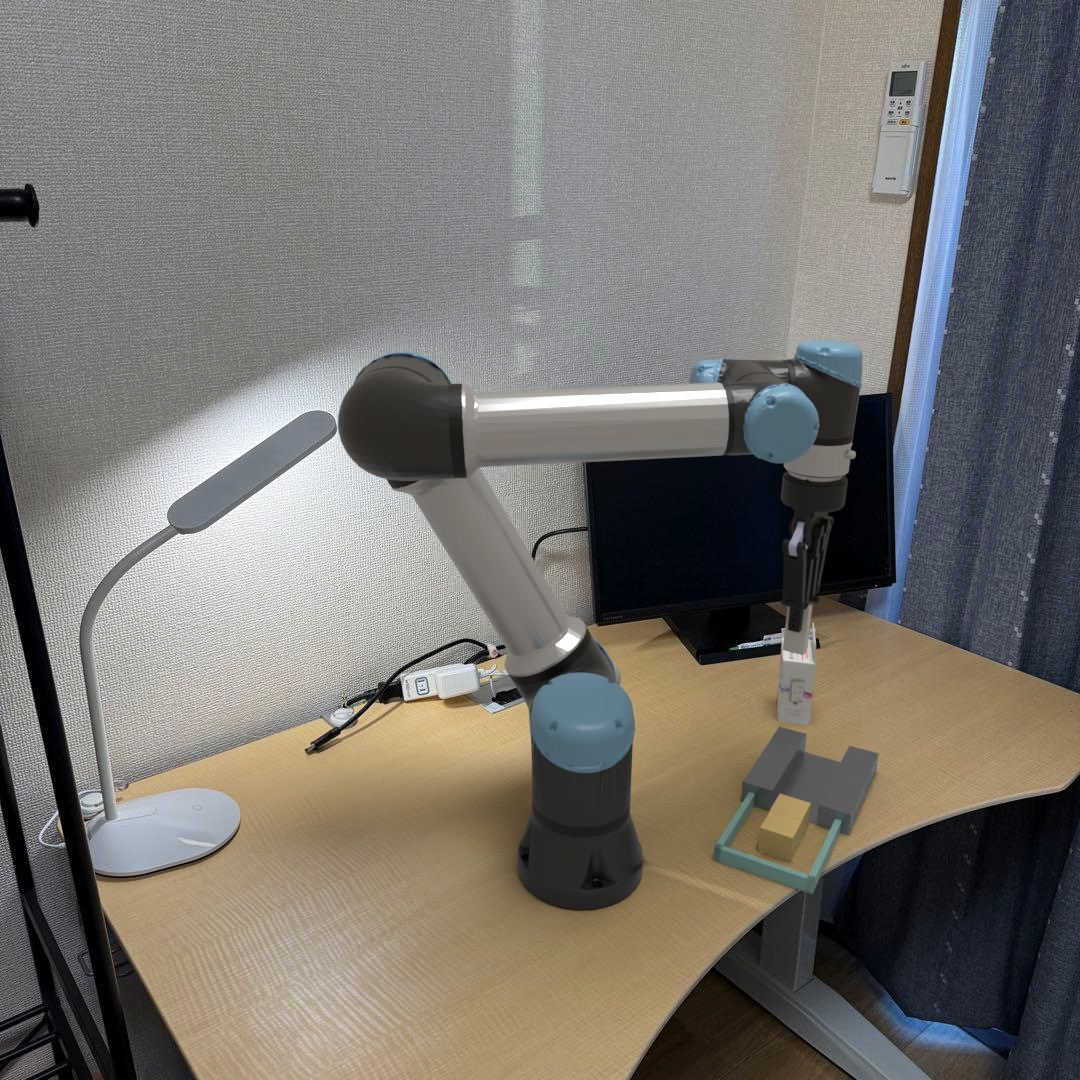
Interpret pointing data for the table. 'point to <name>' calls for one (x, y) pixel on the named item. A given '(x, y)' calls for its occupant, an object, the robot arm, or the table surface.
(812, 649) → the ink cartridge box
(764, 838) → the tan wooden cube
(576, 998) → the table surface
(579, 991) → the table surface
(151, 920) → the table surface
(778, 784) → the slot board
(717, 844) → the teal u-shaped bar frame
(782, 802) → the beige wooden block
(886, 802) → the table surface
